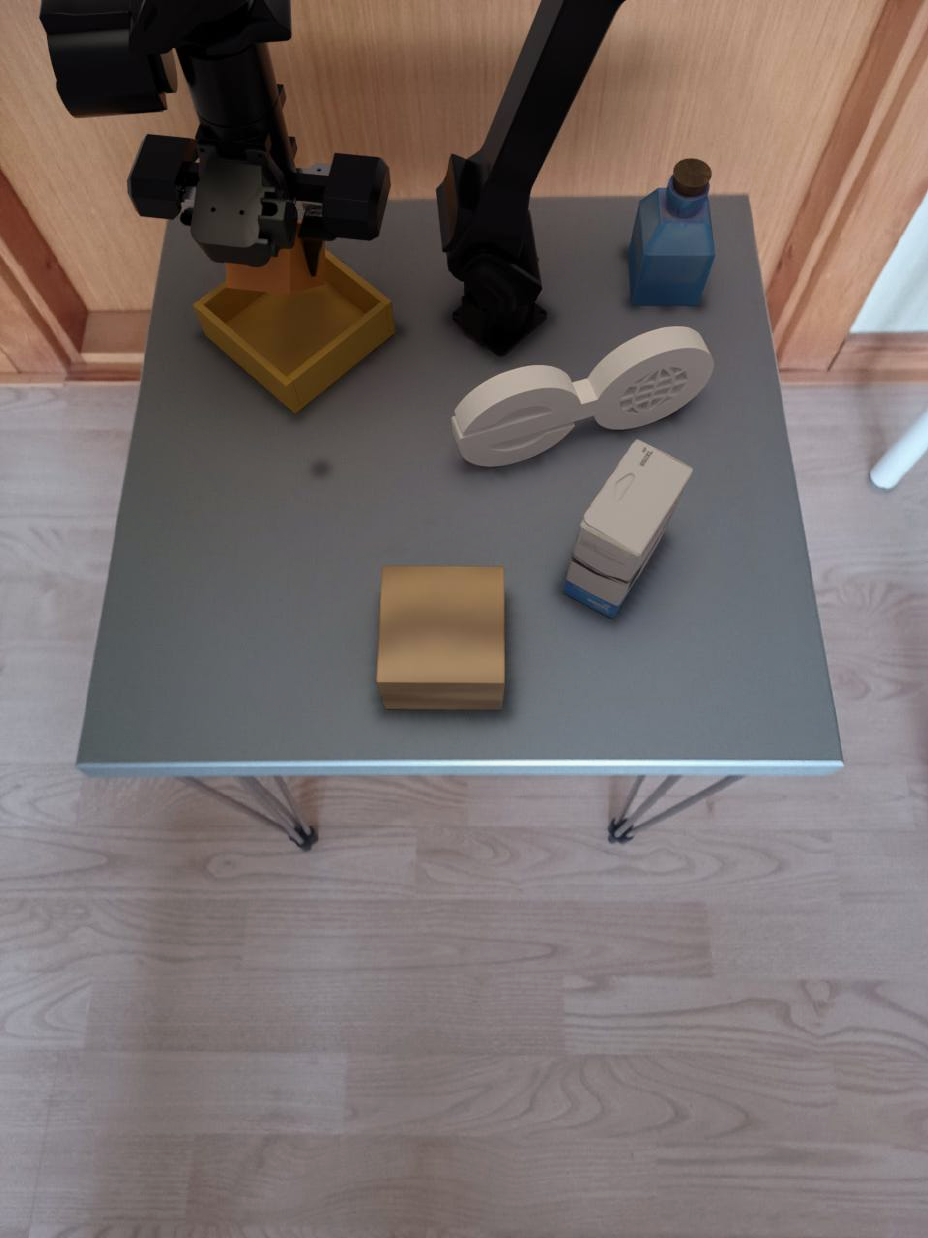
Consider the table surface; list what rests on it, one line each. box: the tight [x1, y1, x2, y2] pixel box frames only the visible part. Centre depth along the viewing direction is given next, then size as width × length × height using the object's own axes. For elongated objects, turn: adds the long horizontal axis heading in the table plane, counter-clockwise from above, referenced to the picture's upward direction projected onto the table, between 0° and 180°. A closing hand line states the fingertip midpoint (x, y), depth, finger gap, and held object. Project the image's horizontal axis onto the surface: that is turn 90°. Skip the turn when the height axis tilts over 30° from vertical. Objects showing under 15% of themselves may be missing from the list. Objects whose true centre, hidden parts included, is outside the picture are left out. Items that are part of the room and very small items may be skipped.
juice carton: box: [225, 219, 326, 294], centre depth 71 cm, size 5×5×11 cm
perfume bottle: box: [627, 157, 716, 307], centre depth 76 cm, size 6×6×12 cm
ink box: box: [562, 438, 694, 619], centre depth 66 cm, size 8×5×12 cm, turn 148°
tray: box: [192, 248, 396, 415], centre depth 78 cm, size 12×12×4 cm
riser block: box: [375, 565, 506, 711], centre depth 65 cm, size 9×9×7 cm
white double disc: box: [450, 325, 715, 468], centre depth 71 cm, size 22×2×10 cm, turn 108°
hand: (283, 269), depth 73 cm, fingers closed on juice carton, 5 cm apart
